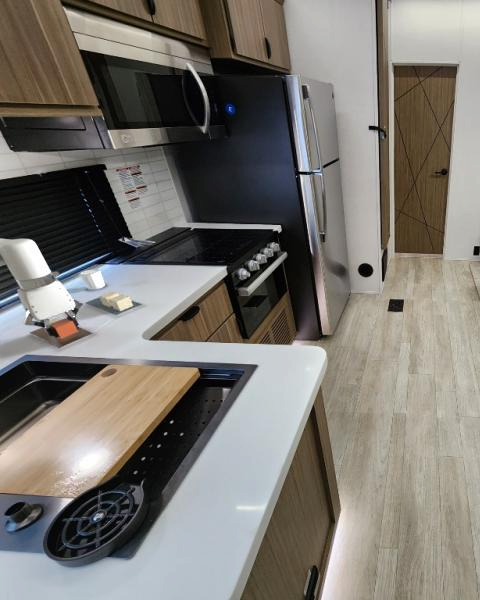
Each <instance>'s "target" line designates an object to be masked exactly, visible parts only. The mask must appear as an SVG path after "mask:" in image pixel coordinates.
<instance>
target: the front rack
mask: <svg viewBox="0 0 480 600" xmlns="http://www.w3.org/2000/svg"><path fill="white" fill-rule="evenodd" d="M78 328H79V329H78V332H76V333H74V334H71V335H69V336H67V337H64V338H62V339H61V338H59V337H58V338H55V337H53V336H49V334H47V332H46V331H45V329H44V327H40V328H37V329H34V330H33V331H30V332H29V334H31V335H33V336H34V337H36V338H39V339H40V340H42V341H45V342H47V343H48V344H50V345H52V346H55V347H56V348H58V349H60V348H63V347H65V346H68V345H69V344H72V343H74V342H76V341H78V340H81V339H83V338H85V337H88V336H90V335H92V334H93V333H94V332H92V331H89V330H87V329H84V328H82V327H80V326H78Z"/></svg>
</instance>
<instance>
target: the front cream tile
mask: <svg viewBox="0 0 480 600" xmlns="http://www.w3.org/2000/svg"><path fill="white" fill-rule="evenodd" d="M62 319H63V318H61V317H56V318H54V319H49V322H50V324H51V323H54V322H57V321H59V320H62ZM44 329H45V328H44ZM45 331H46V330H45ZM46 332H47V331H46ZM47 334H48V333H47Z"/></svg>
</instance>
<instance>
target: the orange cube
mask: <svg viewBox="0 0 480 600" xmlns="http://www.w3.org/2000/svg"><path fill="white" fill-rule="evenodd" d="M61 319H62V320H59V321H57V322H54V323H51V324H50V325H51V326H53V327H54V329H55V331H56V332H57V334H58V336H59V338H61V339H62V338H64V337H67V336H69V335H71V334H74V333H76V332H78V330H77V328H76V326H75V325H74V323H73V321H71V320H68V319H67V317H65V318H61Z"/></svg>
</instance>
